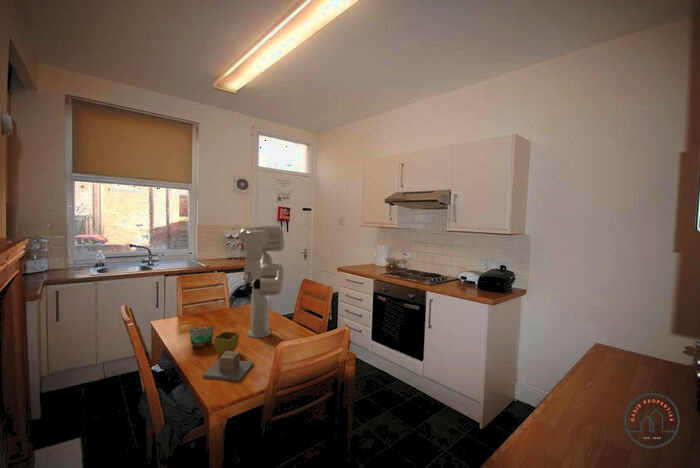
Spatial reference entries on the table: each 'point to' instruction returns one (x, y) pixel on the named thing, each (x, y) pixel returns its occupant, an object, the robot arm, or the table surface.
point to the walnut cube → (229, 361)
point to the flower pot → (226, 342)
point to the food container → (201, 337)
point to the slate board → (235, 375)
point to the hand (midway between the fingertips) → (252, 291)
